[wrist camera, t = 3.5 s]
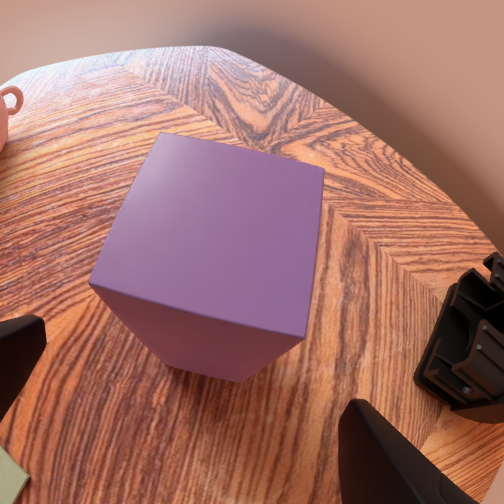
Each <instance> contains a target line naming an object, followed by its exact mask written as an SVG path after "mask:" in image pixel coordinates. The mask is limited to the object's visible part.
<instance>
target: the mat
mask: <svg viewBox="0 0 504 504" xmlns="http://www.w3.org/2000/svg"><path fill="white" fill-rule="evenodd" d="M29 477H30V476H29V475H28V474H27V473H26V472H25V471H24V470H23V469H22V468H21V467H20V466H19V465H18V464H17V463H16V462H15V461H14V460H13V459H12V457H11V456H10V455H9V454H8V453H7V452H6V451H5V450H4V449H3V448H2V447H1V446H0V504H15V502H16V500H17V498H18V496H19V495H20V493H21V491H22V489H23V488H24V486H25V484H26V482H27V481H28V479H29Z"/></svg>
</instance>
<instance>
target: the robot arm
mask: <svg viewBox="0 0 504 504" xmlns="http://www.w3.org/2000/svg"><path fill="white" fill-rule="evenodd" d="M46 343H47V340H46V332H45V323H44V320H43V319H42V318H41V317H38V316H36V315H33V314H30V315H26V316H22V317H18V318H14V319H10V320H6V321H1V322H0V422H1V421H2V419H3V418H4V416H5V414H6V413H7V411H8V410H9V408H10V407H11V405H12V404H13V402H14V401H15V399H16V398H17V396H18V395H19V393H20V392H21V390H22V389H23V387H24V385H25V384H26V382H27V380H28V379H29V377H30V375H31V373H32V371H33V369H34V367H35V366H36V364H37V362H38V360H39V358H40V357H41V355H42V353H43V351H44V350H45V347H46ZM338 440H339V442H338V469H339V480H340V489H341V499H342V504H479V503H478V502H477V501H475V500H474V499H473V498H471V497H470V496H469V495H468V494H466V493H465V492H464V491H462V490H461V489H460V488H459V487H458V486H457V485H455V484H454V483H453V482H452V481H451V480H450V479H449V478H448V477H447V476H446V475H444V474H443V473H441V471H440V470H439V469H438V468H437V467H436V466H435V465H434V464H433V463H431V462H430V461H429V460H428V459H427V458H426V457H425V456H424V455H423V454H422V453H421V452H420V451H419V450H418V449H417V448H416V447H414V446H413V445H412V444H411V443H410V442H409V441H408V440H407V439H406V438H405V437H404V436H403V435H402V434H401V433H400V432H399V431H398V430H397V429H396V428H395V427H393V426H392V425H391V424H390V423H389V422H388V421H387V420H386V419H385V418H384V417H383V416H382V415H381V414H380V413H379V412H378V411H377V410H376V409H375V408H374V407H373V406H372V405H371V404H370V403H369V402H368V401H366V400H364V399H356V398H354V399H351V400H350V402H349V403H348V405H347V407H346V408H345V410H344V412H343V414H342V415H341V417H340V420H339V424H338Z"/></svg>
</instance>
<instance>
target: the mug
mask: <svg viewBox="0 0 504 504" xmlns="http://www.w3.org/2000/svg"><path fill="white" fill-rule="evenodd" d="M8 93H12V94H14V95H15V96H16V98H17V103H16V106H15V107H14V108H6V104H5V102H4V99H3V96H4V95H6V94H8ZM22 104H23V93H22V91H21V90H20V89H19V88H18V87H16V86H8V87H6V88H4V89H3V90H2V91H0V152H1V151H2V149H3V147H4V145H5V141H6V138H7V134H8V115H14V114H16V113H18V112H19V111H20V109H21V107H22Z"/></svg>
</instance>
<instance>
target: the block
mask: <svg viewBox="0 0 504 504" xmlns="http://www.w3.org/2000/svg"><path fill="white" fill-rule="evenodd" d="M324 172H325V170H324V168H322V167H318V166H315V165H311V164H307V163H304V162H300V161H296V160H292V159H289V158H285V157H281V156H277V155H273V154H268V153H264V152H260V151H256V150H251V149H247V148H243V147H238V146H233V145H229V144H224V143H219V142H214V141H209V140H204V139H199V138H193V137H188V136H182V135H177V134H171V133H165V132H160V133H159V135H158V137H157V139H156V140H155V142H154V144H153V146H152V147H151V149H150V151H149V153H148V155H147V157H146V158H145V160H144V162H143V164H142V166H141V168H140V170H139V171H138V173H137V175H136V177H135V179H134V181H133V183H132V185H131V187H130V189H129V191H128V193H127V195H126V197H125V199H124V201H123V203H122V205H121V207H120V209H119V212H118V214H117V216H116V218H115V220H114V222H113V225H112V227H111V229H110V231H109V233H108V236H107V238H106V240H105V243H104V245H103V247H102V250H101V252H100V254H99V257H98V259H97V262H96V264H95V266H94V269H93V271H92V274H91V276H90V279H89V285H90V286H91V287H92V289H93V290H94V291H95V292H96V293H97V294H98V295H99V297H100V298H101V299H102V300H103V301H104V302H105V303H106V305H107V306H108V307H109V308H110V309H111V310H112V311H113V312H114V313H115V314H116V315H117V317H118V318H119V319H120V320H121V321H122V322H123V323H124V324H125V325H126V326H127V327H128V328H129V329H130V330H131V331H132V332H133V333H134V334H135V335H136V337H137V338H138V339H139V340H140V341H141V342H142V343H143V344H144V345H145V346H146V347H147V348H148V349H149V350H150V351H151V352H152V353H154V354H155V355H156V356H157V357H158V358H159V359H160V360H161V361H162V362H163V363H164V364H165V365H168V366H171V367H175V368H178V369H182V370H186V371H190V372H194V373H198V374H202V375H206V376H210V377H214V378H218V379H223V380H227V381H232V382H236V383H241V382H243V381H244V380H246V379H247V378H249V377H251V376H252V375H254V374H255V373H257V372H258V371H260V370H261V369H263V368H264V367H266V366H267V365H269V364H270V363H271V362H273V361H274V360H276V359H277V358H279V357H280V356H282V355H283V354H285V353H286V352H287V351H289V350H290V349H292V348H293V347H294V346H296V345H297V344H299V343H300V342H301V341H303V340H304V339H305V338H306V334H307V327H308V320H309V313H310V306H311V298H312V291H313V283H314V274H315V266H316V257H317V248H318V239H319V229H320V219H321V208H322V197H323V185H324Z"/></svg>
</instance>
